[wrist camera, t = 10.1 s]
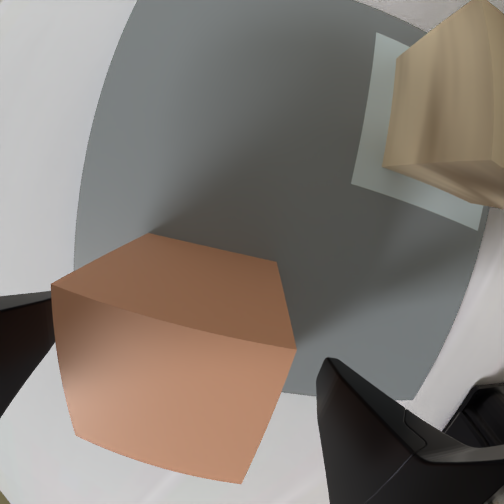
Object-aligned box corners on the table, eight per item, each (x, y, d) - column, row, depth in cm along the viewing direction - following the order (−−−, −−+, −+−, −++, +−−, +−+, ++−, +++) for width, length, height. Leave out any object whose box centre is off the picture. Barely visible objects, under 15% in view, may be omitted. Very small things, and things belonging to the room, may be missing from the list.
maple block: (480, 105, 9) (571, 86, 3) (470, 203, 10) (572, 225, 4) (396, 58, 9) (479, -6, 3) (381, 166, 10) (491, 160, 4)
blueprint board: (487, 83, 9) (498, 80, 8) (406, 389, 13) (413, 400, 12) (156, -14, 9) (150, -25, 8) (85, 328, 13) (75, 337, 12)
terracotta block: (276, 261, 11) (296, 350, 5) (247, 369, 12) (241, 483, 6) (148, 232, 11) (50, 284, 5) (138, 342, 12) (75, 435, 6)
